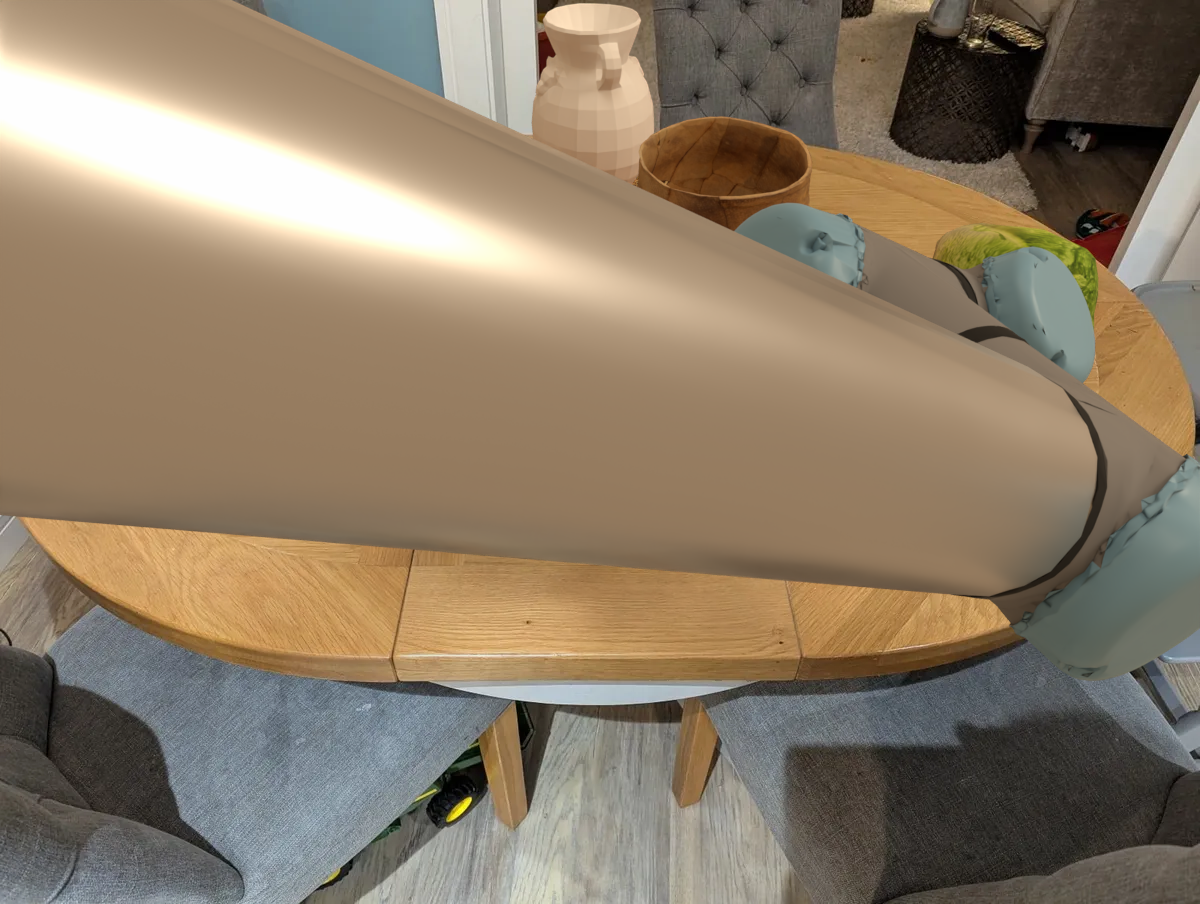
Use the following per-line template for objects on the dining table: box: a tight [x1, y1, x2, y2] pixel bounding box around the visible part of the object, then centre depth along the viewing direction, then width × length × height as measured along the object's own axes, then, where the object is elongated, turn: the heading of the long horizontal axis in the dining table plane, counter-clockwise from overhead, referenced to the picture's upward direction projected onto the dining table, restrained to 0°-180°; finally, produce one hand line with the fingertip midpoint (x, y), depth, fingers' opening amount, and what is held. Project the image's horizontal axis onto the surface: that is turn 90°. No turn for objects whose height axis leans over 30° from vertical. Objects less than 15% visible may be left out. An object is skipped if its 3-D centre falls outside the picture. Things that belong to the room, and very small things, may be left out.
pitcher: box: [531, 2, 655, 185], centre depth 120 cm, size 19×18×25 cm
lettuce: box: [932, 222, 1099, 330], centre depth 97 cm, size 17×24×14 cm
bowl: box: [636, 115, 813, 231], centre depth 98 cm, size 21×20×20 cm
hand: (600, 476), depth 68 cm, fingers closed on cup, 8 cm apart
